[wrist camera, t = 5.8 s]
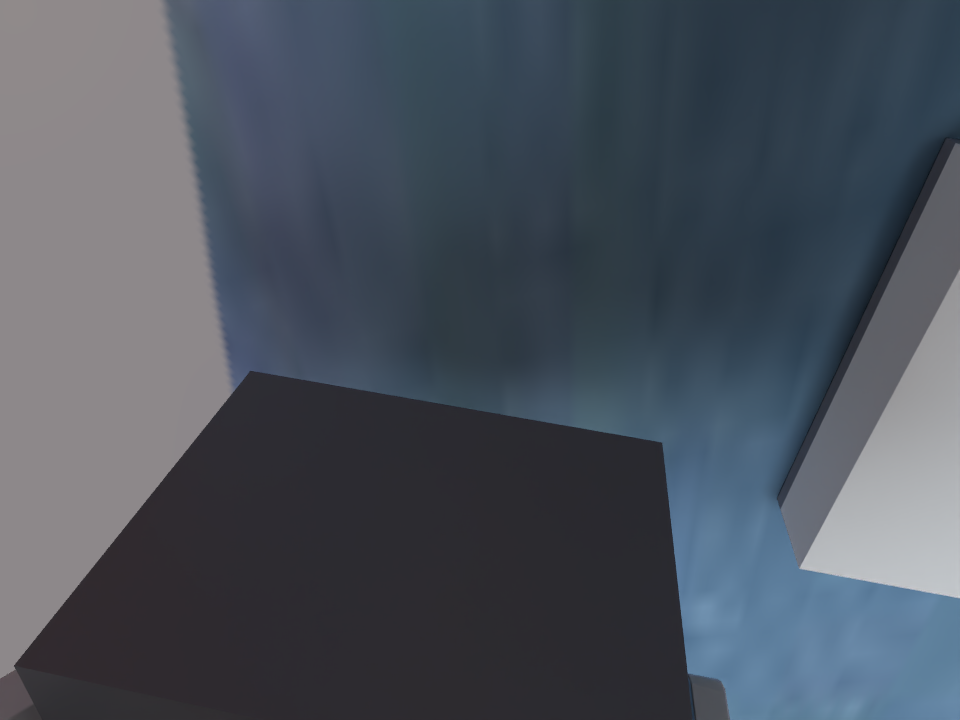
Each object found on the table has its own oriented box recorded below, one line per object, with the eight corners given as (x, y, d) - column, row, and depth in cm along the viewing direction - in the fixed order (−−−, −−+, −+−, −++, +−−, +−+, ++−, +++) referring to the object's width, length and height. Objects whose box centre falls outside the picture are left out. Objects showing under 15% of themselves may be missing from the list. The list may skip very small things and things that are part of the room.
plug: (299, 309, 12) (14, 666, 6) (653, 368, 12) (704, 815, 6) (320, 628, 17) (177, 978, 12) (562, 677, 17) (541, 1071, 11)
